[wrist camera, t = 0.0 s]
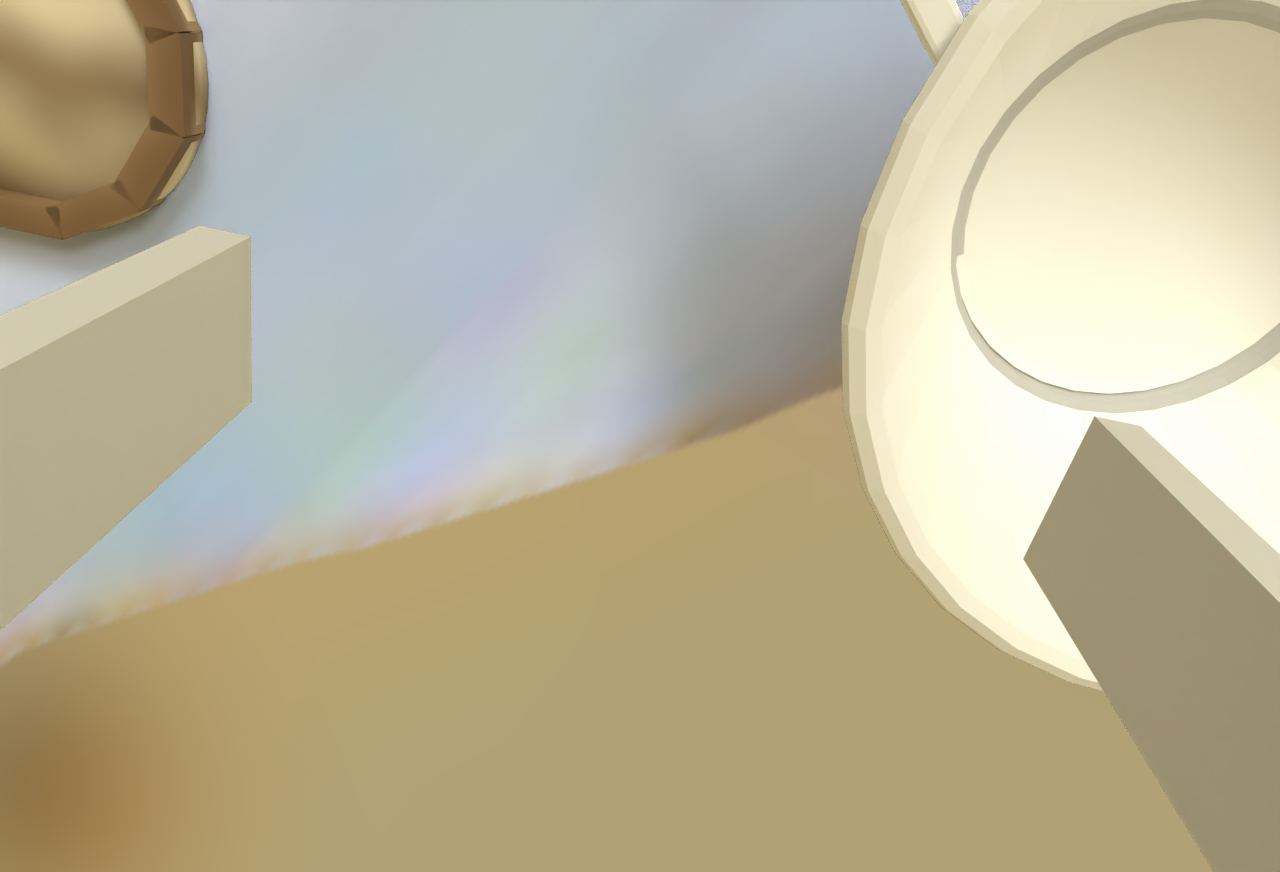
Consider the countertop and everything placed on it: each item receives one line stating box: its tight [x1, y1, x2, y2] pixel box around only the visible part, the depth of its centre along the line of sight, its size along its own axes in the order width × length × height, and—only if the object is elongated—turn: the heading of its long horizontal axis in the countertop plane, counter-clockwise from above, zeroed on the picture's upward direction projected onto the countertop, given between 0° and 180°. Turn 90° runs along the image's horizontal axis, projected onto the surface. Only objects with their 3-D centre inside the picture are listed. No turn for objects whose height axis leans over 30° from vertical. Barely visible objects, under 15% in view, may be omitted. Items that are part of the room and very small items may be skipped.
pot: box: [841, 0, 1280, 691], centre depth 33 cm, size 40×32×14 cm
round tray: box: [0, 0, 208, 240], centre depth 37 cm, size 16×16×2 cm
